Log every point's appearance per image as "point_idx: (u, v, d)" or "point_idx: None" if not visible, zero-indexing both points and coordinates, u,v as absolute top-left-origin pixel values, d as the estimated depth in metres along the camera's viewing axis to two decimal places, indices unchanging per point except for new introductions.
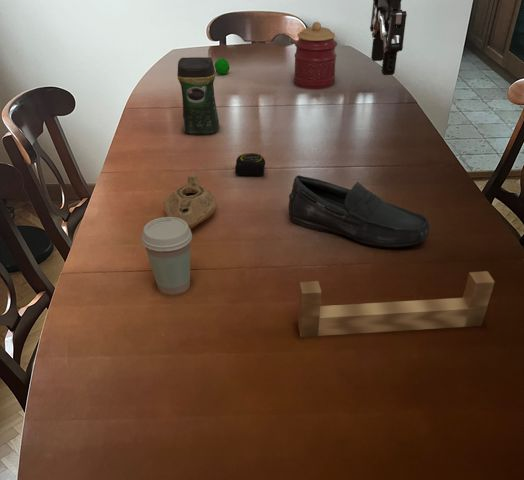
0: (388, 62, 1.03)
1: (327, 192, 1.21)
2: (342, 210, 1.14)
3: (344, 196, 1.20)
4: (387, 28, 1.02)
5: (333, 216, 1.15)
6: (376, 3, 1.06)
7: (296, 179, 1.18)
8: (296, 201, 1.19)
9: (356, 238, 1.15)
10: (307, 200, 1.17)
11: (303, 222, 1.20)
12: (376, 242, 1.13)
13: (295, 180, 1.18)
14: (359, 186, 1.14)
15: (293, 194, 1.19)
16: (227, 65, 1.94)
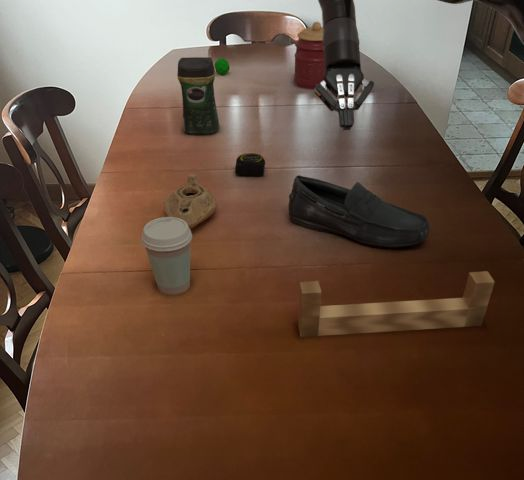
0: (353, 116, 1.23)
1: (327, 192, 1.21)
2: (342, 210, 1.14)
3: (344, 196, 1.20)
4: (357, 88, 1.23)
5: (333, 216, 1.15)
6: None
7: (296, 179, 1.18)
8: (296, 201, 1.19)
9: (356, 238, 1.15)
10: (307, 200, 1.17)
11: (303, 222, 1.20)
12: (376, 242, 1.13)
13: (295, 180, 1.18)
14: (359, 186, 1.14)
15: (293, 194, 1.19)
16: (227, 65, 1.94)
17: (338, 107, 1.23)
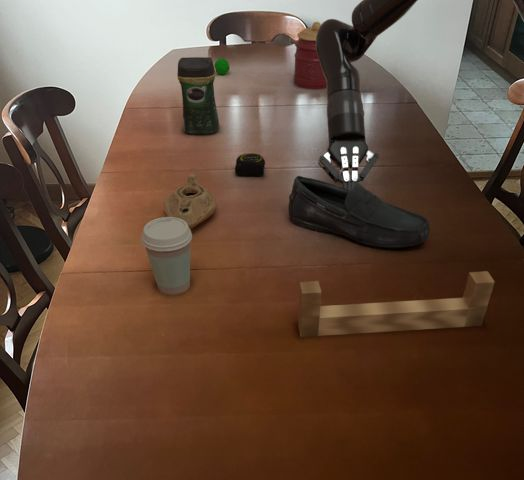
0: None
1: (327, 192, 1.21)
2: (342, 211, 1.14)
3: (344, 197, 1.20)
4: (361, 160, 1.22)
5: (333, 217, 1.15)
6: (326, 159, 1.21)
7: (296, 180, 1.18)
8: (296, 202, 1.19)
9: (356, 239, 1.15)
10: (307, 201, 1.17)
11: (303, 223, 1.20)
12: (376, 242, 1.13)
13: (295, 181, 1.18)
14: (359, 187, 1.14)
15: (293, 194, 1.19)
16: (227, 65, 1.94)
17: (342, 179, 1.21)
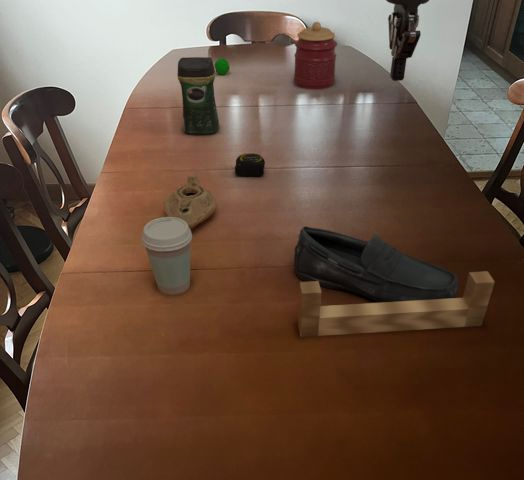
0: None
1: (337, 243, 1.06)
2: (358, 267, 0.99)
3: (357, 248, 1.05)
4: None
5: (348, 274, 1.00)
6: None
7: (303, 231, 1.03)
8: (303, 256, 1.04)
9: (375, 298, 1.00)
10: (317, 255, 1.02)
11: (312, 279, 1.05)
12: None
13: (302, 232, 1.03)
14: (377, 239, 0.99)
15: (299, 248, 1.04)
16: (227, 65, 1.94)
17: None
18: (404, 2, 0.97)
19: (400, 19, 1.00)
